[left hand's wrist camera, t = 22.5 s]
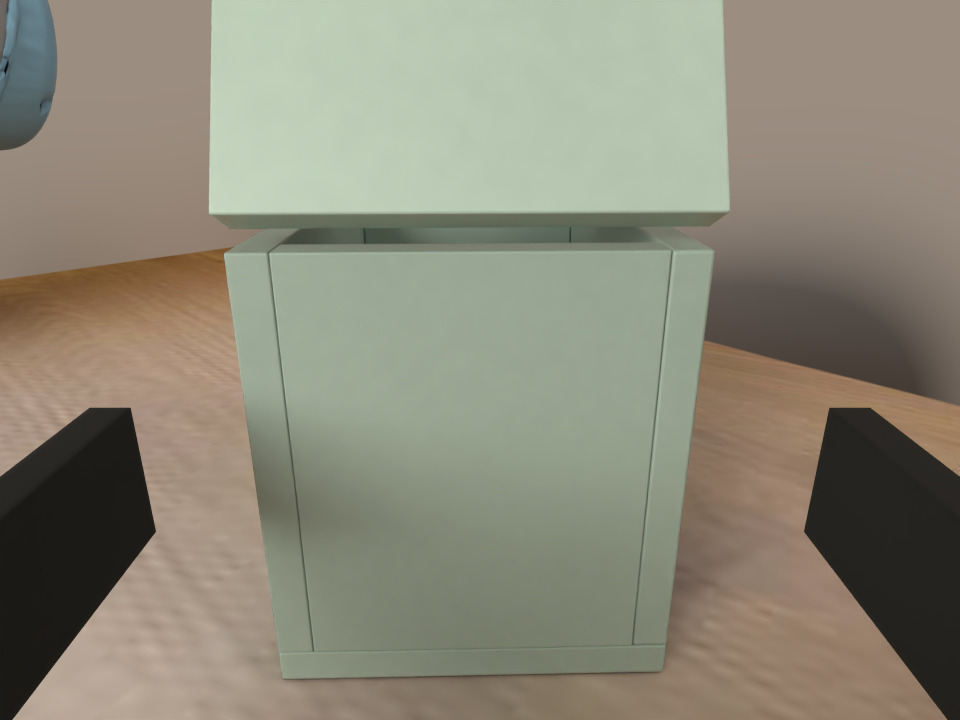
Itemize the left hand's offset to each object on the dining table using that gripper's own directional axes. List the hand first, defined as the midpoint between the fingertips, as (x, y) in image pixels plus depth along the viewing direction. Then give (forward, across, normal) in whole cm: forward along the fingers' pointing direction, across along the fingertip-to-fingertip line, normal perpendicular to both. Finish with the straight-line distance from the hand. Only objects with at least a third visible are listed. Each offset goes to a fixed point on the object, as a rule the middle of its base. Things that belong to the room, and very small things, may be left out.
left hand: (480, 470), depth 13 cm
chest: (+8, 0, -7) cm, 11 cm away
